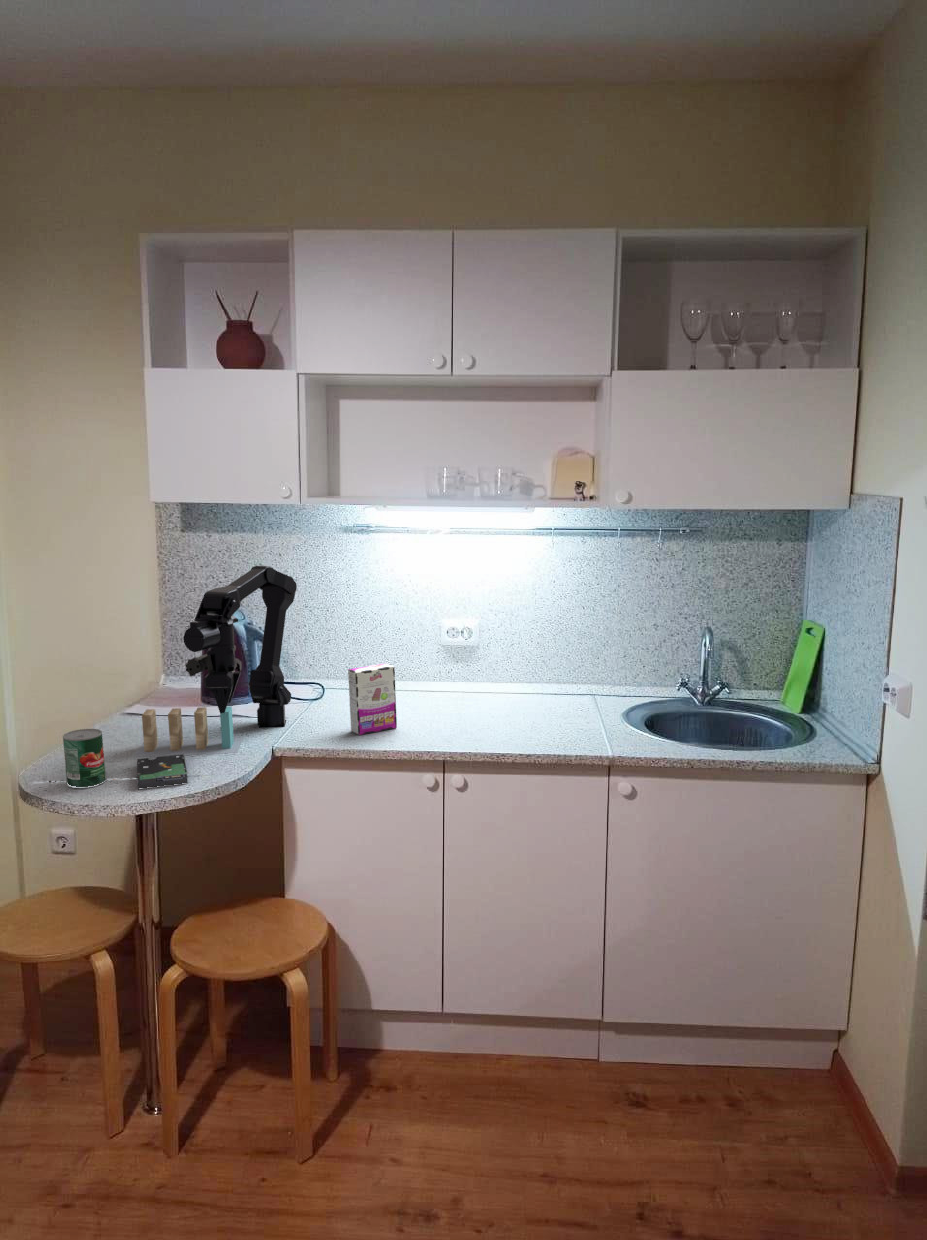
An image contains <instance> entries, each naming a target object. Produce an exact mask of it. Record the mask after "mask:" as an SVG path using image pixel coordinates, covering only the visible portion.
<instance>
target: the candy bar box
mask: <svg viewBox="0 0 927 1240" xmlns="http://www.w3.org/2000/svg"><path fill="white" fill-rule="evenodd" d="M395 671H396V670H395V665H392V664H389V663H379V664H372V665H368V666H361V667H355V668H348V669H347V675H348V694H349V695H348V696H349V715H350V716H349V717H350V731H351V732H352V733H354V734H356V735H358V736H362V735H368V734H373V733H374V734H375V733H378V732H382V731H383V732H384V731H387V730H393V729H396V728H398V727H397V725H398V723H397V720H398V719H397V700H396V699H397V698H396V694H397V693H396V673H395Z"/></svg>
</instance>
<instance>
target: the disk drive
mask: <svg viewBox="0 0 927 1240" xmlns="http://www.w3.org/2000/svg"><path fill="white" fill-rule="evenodd" d="M136 767H137V768H136V769H137V776H136V777H137V779H136V780H137V788H147V787H157V786H164V785H173V786H175V785H174V784H181V785H183V784H182V783H189V781H188V771H187V766H186V760H185V755H184V754H180V755H172V756H156V757H155V758H154V759H153V758H152V759H151V758H150V759H149V758H148V757H143V758H138V759H137V760H136ZM164 787H165V786H164ZM157 788H158V787H157Z"/></svg>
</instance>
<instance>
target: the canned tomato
mask: <svg viewBox="0 0 927 1240" xmlns="http://www.w3.org/2000/svg"><path fill="white" fill-rule="evenodd" d="M62 739H63V740H62V742H63V752H64V764H65V766H64V767H65V777H66V784H67V783H68V784H69V785H71V786H76V787H88V786H94V785H97V784H100V783H102V782H104V781H105V780H106V781H107V778H106V767H105V766H106V765H105V756H104V755H105V754H104V743H103V731H102V730H101V729H98V728H80V729H75V730H70V731H68V732H66V733H64V734H62ZM106 781H105V782H106ZM105 782H104V783H105Z"/></svg>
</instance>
